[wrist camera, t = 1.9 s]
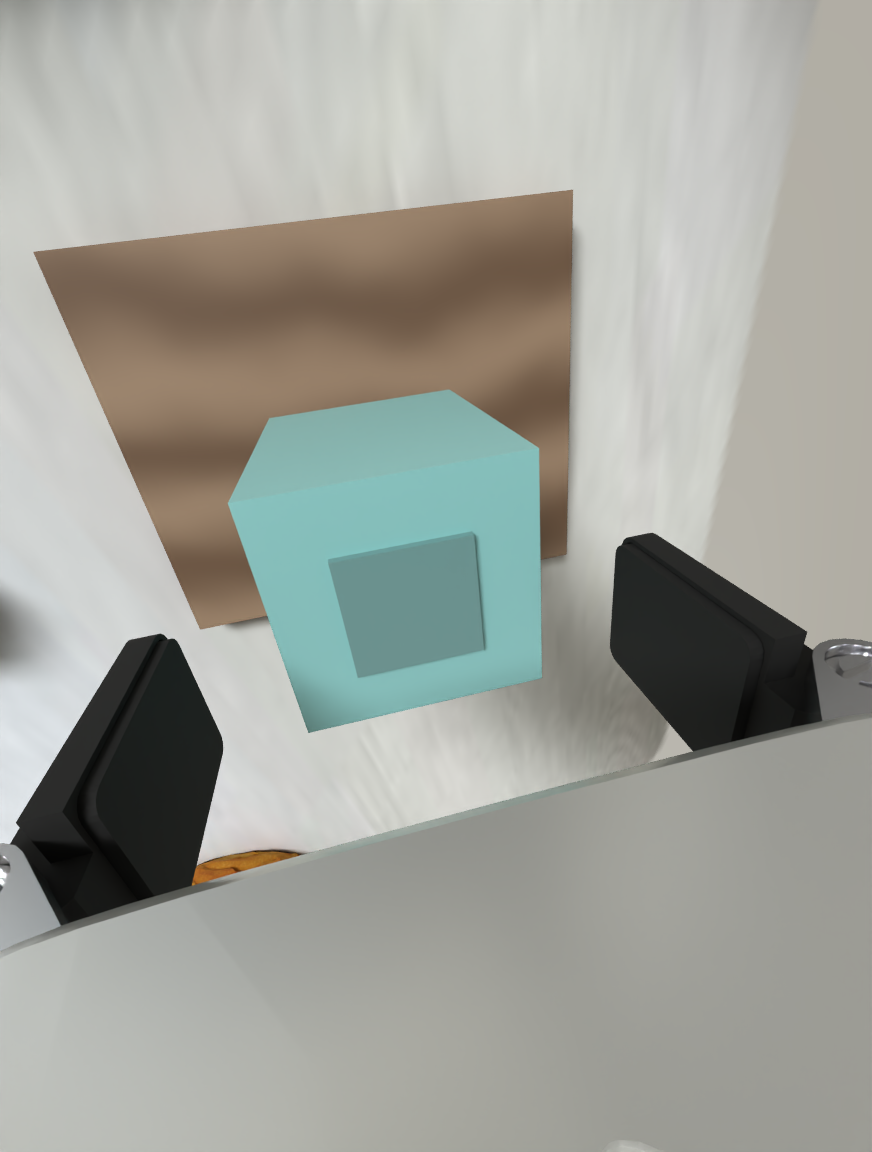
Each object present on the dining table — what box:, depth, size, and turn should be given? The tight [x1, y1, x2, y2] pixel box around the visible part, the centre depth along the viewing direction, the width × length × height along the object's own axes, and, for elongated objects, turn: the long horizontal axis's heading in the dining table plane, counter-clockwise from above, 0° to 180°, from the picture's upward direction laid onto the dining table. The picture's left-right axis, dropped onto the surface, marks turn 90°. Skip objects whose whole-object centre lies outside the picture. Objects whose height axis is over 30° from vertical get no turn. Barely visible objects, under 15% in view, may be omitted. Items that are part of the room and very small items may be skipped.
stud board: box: [34, 190, 573, 629], centre depth 22 cm, size 18×22×11 cm
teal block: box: [228, 390, 542, 733], centre depth 14 cm, size 6×6×8 cm
